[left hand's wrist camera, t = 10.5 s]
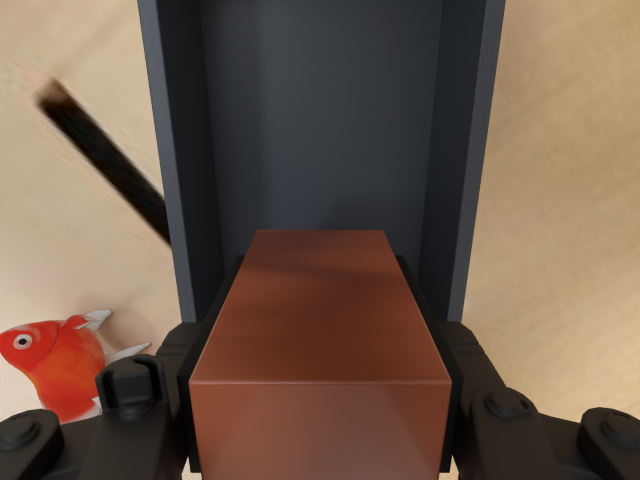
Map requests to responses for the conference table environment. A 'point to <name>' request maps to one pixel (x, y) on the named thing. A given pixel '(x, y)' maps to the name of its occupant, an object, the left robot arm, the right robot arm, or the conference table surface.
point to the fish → (63, 362)
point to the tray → (321, 129)
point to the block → (320, 367)
